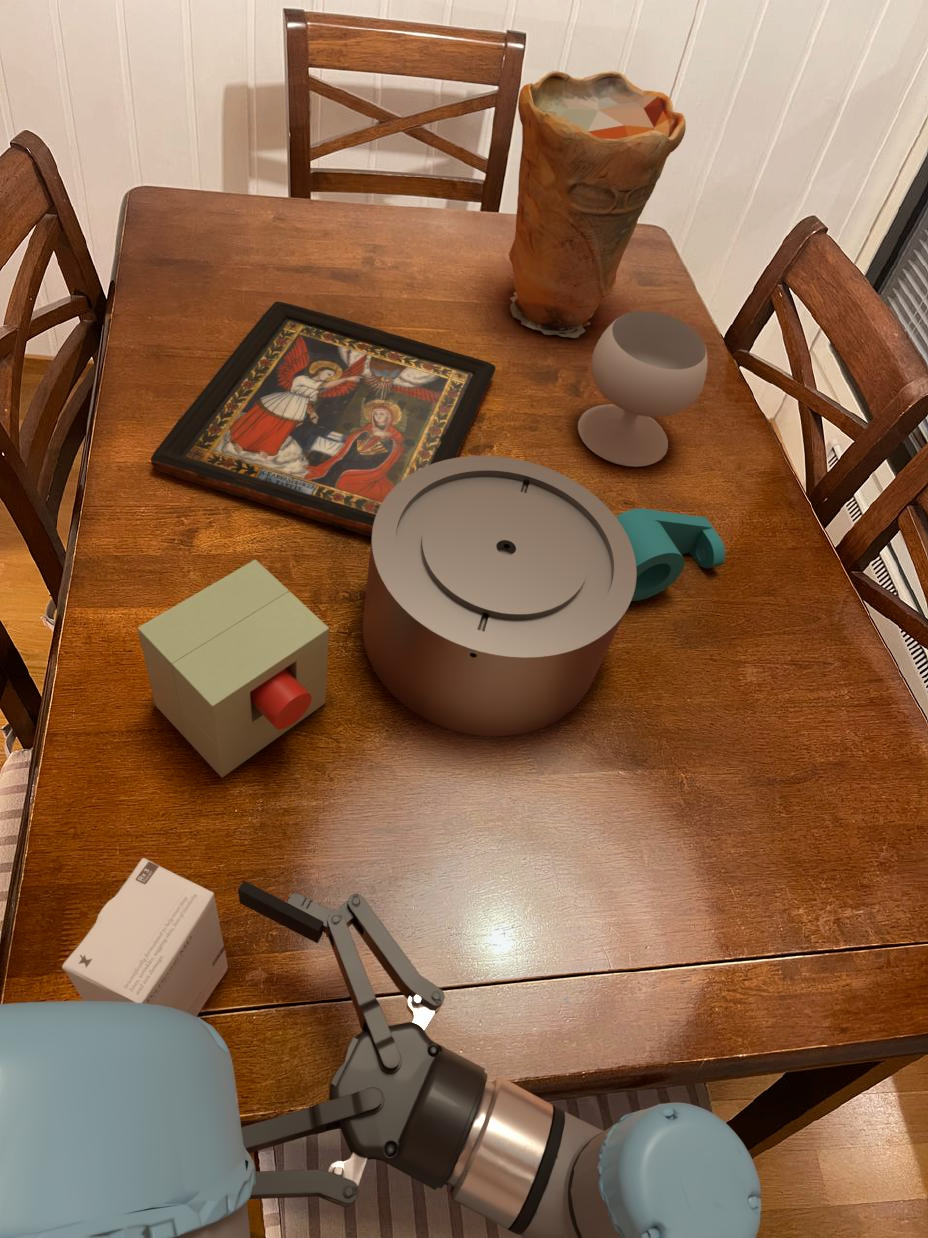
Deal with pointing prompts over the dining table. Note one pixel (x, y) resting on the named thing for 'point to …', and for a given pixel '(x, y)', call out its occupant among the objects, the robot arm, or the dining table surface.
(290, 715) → the button
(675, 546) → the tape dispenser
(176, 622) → the box
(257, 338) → the framed painting
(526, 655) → the container
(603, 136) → the vase
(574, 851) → the dining table surface
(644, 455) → the chalice
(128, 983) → the cosmetic box
